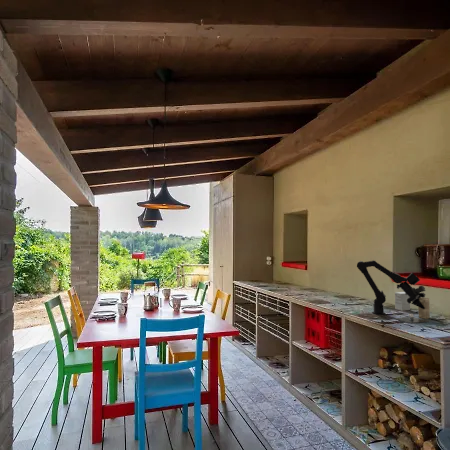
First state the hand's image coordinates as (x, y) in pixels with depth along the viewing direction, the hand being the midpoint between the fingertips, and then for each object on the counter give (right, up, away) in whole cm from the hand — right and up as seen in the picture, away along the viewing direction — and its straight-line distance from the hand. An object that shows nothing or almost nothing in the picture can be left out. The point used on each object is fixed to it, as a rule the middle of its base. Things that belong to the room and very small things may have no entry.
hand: (426, 308), depth 239 cm
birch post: (-1, -7, +1) cm, 7 cm away
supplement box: (-1, -8, +29) cm, 30 cm away
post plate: (-13, -6, -7) cm, 16 cm away
